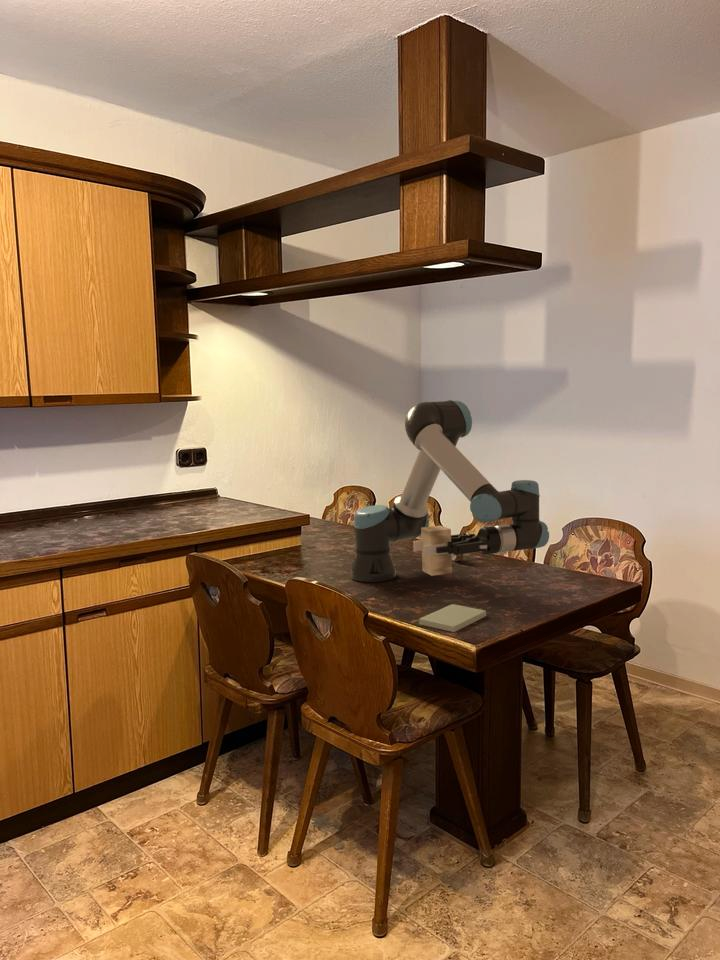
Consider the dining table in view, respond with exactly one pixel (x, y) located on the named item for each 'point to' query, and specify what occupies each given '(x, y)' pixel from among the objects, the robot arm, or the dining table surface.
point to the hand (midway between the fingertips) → (419, 548)
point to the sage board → (452, 617)
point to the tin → (457, 557)
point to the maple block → (436, 562)
